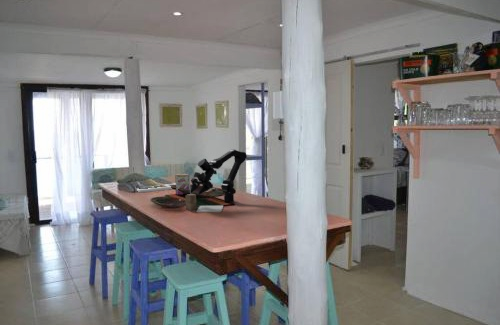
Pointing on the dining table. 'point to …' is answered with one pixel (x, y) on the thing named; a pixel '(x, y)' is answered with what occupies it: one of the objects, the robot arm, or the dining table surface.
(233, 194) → the robot arm
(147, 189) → the holder
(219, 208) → the grey mat
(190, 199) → the walnut block
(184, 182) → the candy bar box
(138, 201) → the dining table surface
